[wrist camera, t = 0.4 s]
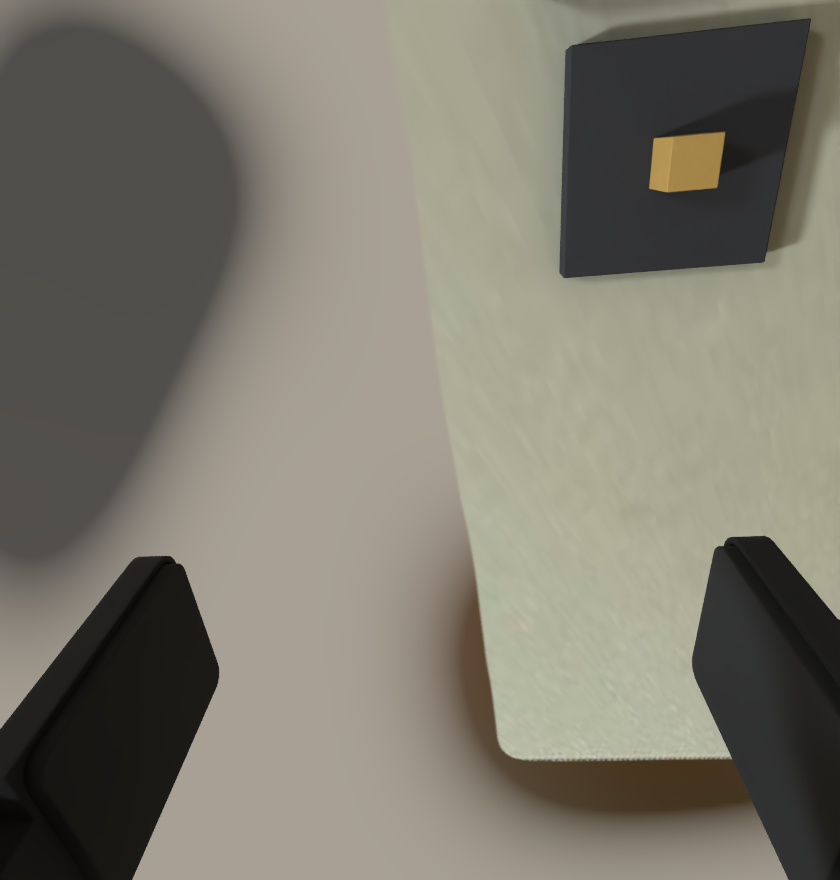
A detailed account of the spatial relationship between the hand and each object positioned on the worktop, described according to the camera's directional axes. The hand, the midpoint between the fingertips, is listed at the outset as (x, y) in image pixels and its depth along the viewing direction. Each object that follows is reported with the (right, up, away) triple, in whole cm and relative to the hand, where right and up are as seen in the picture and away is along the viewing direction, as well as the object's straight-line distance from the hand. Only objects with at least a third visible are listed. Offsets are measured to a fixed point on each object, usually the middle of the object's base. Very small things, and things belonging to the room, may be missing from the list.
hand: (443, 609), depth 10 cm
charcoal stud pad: (+14, +19, +23) cm, 33 cm away
